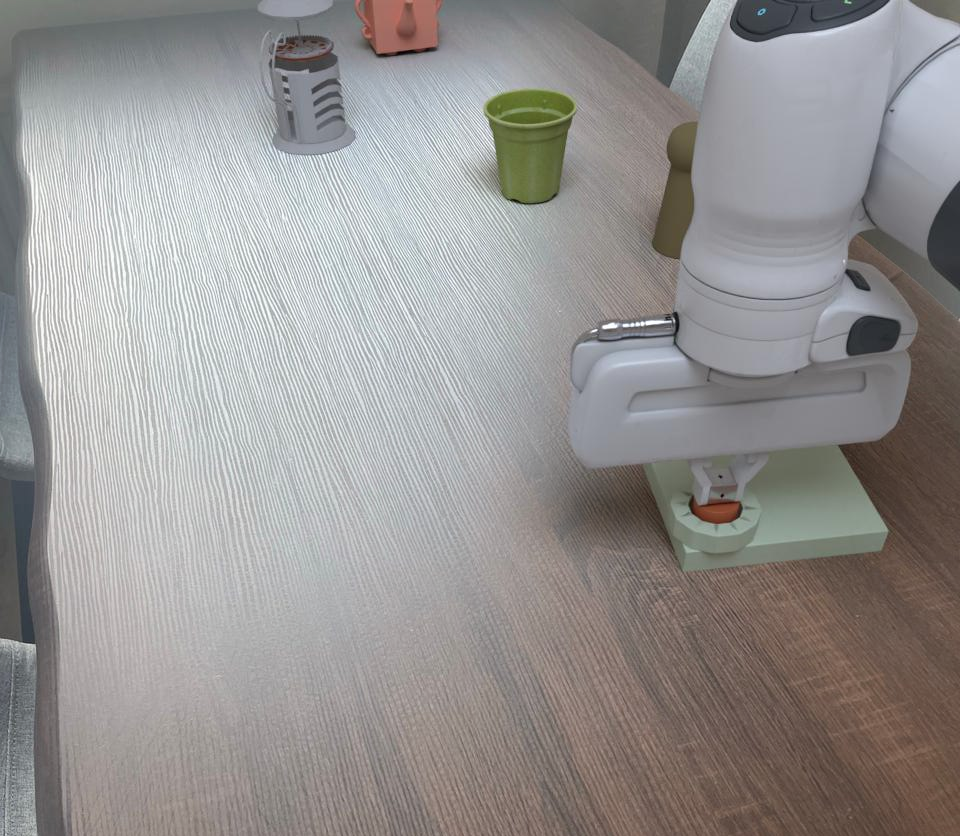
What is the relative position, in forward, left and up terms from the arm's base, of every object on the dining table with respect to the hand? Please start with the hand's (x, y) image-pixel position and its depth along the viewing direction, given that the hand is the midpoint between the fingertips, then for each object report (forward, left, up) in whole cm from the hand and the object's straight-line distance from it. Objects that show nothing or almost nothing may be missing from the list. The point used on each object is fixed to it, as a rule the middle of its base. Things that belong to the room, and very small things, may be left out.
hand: (716, 497), depth 68 cm
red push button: (0, 0, -2) cm, 2 cm away
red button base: (-5, -4, -4) cm, 7 cm away
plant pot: (+3, -57, -4) cm, 57 cm away
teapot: (+13, -104, -4) cm, 104 cm away
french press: (+26, -75, -4) cm, 79 cm away
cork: (-10, -43, -4) cm, 44 cm away
